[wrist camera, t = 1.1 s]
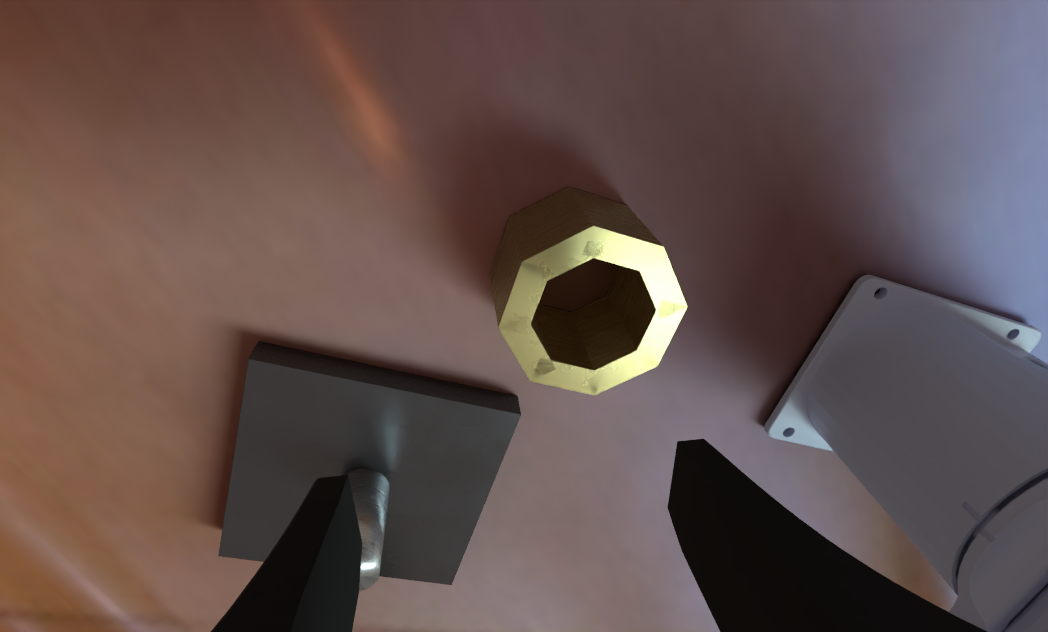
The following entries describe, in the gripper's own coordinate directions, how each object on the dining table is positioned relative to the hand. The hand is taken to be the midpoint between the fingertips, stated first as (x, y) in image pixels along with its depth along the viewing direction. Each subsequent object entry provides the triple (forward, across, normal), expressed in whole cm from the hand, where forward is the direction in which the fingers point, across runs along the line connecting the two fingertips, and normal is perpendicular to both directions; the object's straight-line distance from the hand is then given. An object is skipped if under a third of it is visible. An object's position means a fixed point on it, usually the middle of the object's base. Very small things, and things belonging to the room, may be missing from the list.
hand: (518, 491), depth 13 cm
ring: (+10, -3, -1) cm, 10 cm away
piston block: (+10, +5, +8) cm, 14 cm away
